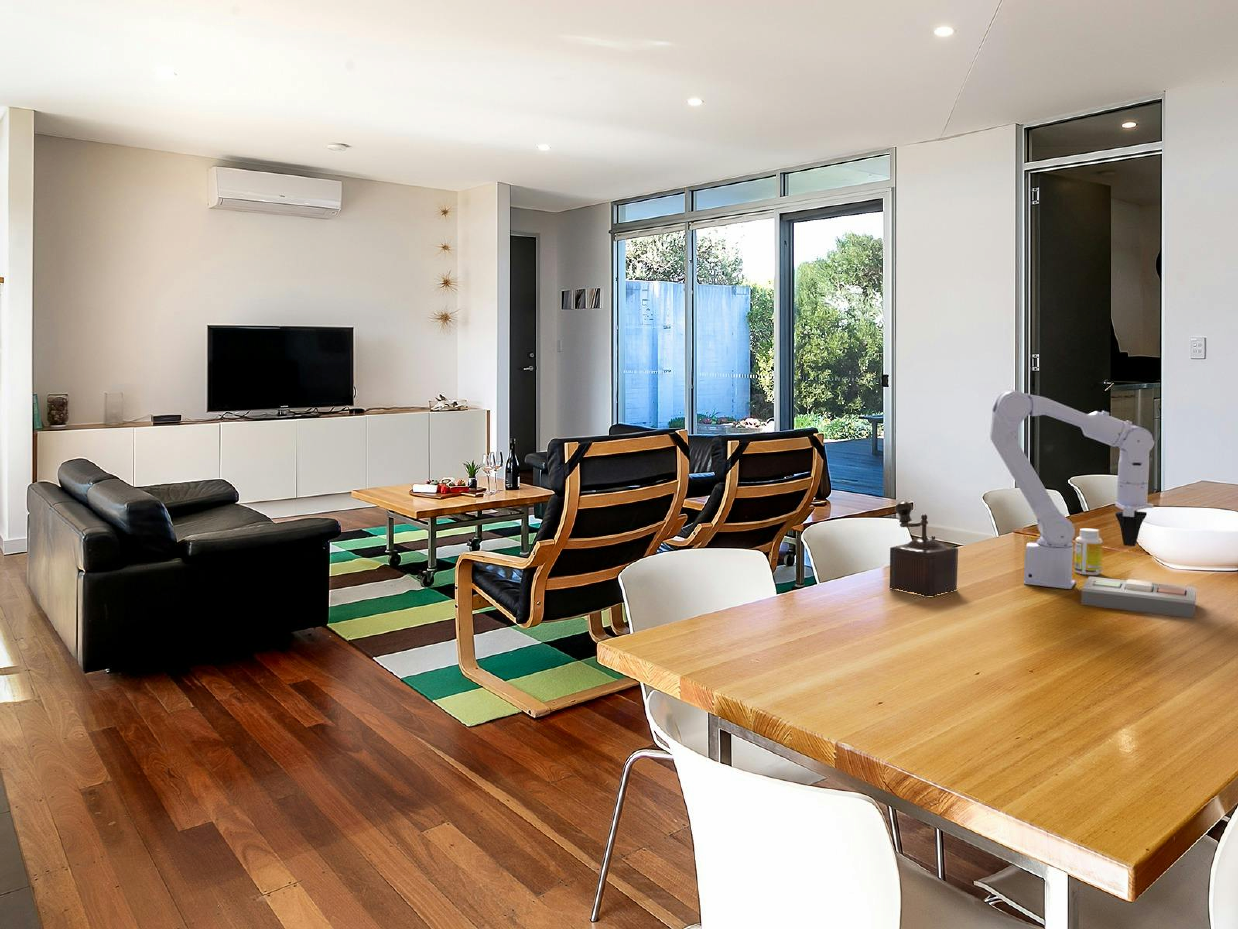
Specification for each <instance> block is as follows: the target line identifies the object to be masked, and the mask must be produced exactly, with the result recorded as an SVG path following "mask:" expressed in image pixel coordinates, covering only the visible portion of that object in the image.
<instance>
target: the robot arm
mask: <svg viewBox="0 0 1238 929" xmlns="http://www.w3.org/2000/svg"><path fill="white" fill-rule="evenodd" d="M1027 416H1031V417H1038V416H1048V417H1050V418H1054V419H1056V420H1060V421H1062V422H1065V423H1067V424H1071V425H1073V426H1075V427H1079V428H1080V429H1081V431H1082V434H1083V435H1084V437H1087V438H1089V439H1092V440H1095V441H1098V442H1100V443H1102V444H1106V445H1108V446H1111V447H1114V448H1115V447H1118V448H1119V457H1118V458H1119V460H1118V466H1117V468H1118V469H1117V470H1118V471H1117V482H1116V483H1117V486H1116V501H1115V505H1114V506H1115V507H1117V508H1119V509H1120V510H1122V511H1116V512H1115V517H1116V519H1117V522H1118V523H1119V524H1118V525H1119V527H1120V532H1121V539H1122V544H1123V546H1125V547H1135V546H1136V544H1137V541H1138V538H1139V535H1140V529H1141V526H1142V523H1143V522H1144V520H1145V518H1146V517H1147V514H1148V513H1147V512H1146V511H1140V510H1145V509H1153V508H1154V503H1148V496H1149V495H1148V494H1149V493H1148V491H1149V476H1150V474H1149V473H1150V451H1152V449H1153V447H1154V446H1155V440H1154V438H1153V435H1152V433H1150V431H1149V430H1148V429H1147V428H1144V427H1141V426H1137V425H1136V424H1133V421H1130V420H1127V419H1126V420H1125V421H1124V420H1121V419H1119V418H1117V417H1114V416H1111V415H1110V412H1108V411H1105V410H1102V411H1101V412H1100V411H1098V410H1095V411H1093V412H1090V413H1085V412H1082V411H1079V410H1078V409H1074V408H1072V407H1070V406H1067V405H1064V404H1062V403H1060V402H1058V401H1054V400H1052V399H1050V398H1048V397H1045V396H1041V395H1040V396H1039V395H1034V394H1031V393H1030V394H1028V393H1024V392H1022V391H1018V390H1015V389H1014V390H1013V389H1012V390H1010V389H1009V390H1006V391H1003V392H1002V393H1000V394H999V396H998V397H997V398H996V400H995V403H994V405H993V406H992V416H991V424H990V426H991V427H990V436H989V437H990V440H991V442H992V444H993V445H994V447H995V449H996V450H997V452H998V454H999V456H1000V458H1001V460H1002V461H1003V463H1004V464H1005V466H1006V468H1007V470H1008V471H1009V473H1010V475H1011V477H1012V478H1013V480H1014V481H1015V482H1016V485H1017V487H1018V488H1019V490H1020V492H1021V493H1022V495H1023V496H1024V498H1025V500H1026V502H1027V503H1028V505H1029V507H1030V508H1031V511H1032V512H1033V515H1034V516H1035V518H1036V522H1037V530H1038V532H1039V533H1040V534H1041V535H1040V536H1039V538H1038V539H1037V540H1036V542H1027V544H1026V545H1025V546H1026V547H1025V553H1024V570H1023V571H1024V572H1023V575H1024V576H1023V584H1025V585H1030V586H1039V587H1040V586H1041V587H1047V588H1056V589H1057V588H1058V589H1064V590H1065V589H1067V590H1071V589H1072V588H1073V586H1074V585H1075V583H1076V579H1072V578H1073V561H1074V560H1073V558H1074V557H1073V556H1074V555H1073V554H1074V542H1072V541H1073V540H1074V537H1075V536H1076V529H1075V526H1074V524H1073V522H1072V521H1071V520H1070V519H1068V518H1067V517H1066V516H1065V514H1063V513H1061V511H1060V510H1059V508H1058V507H1057V505H1056V504H1055V503H1054V501H1053V499H1052V497H1051V496H1050V495H1049V492H1048V491H1047V489H1046V488H1045V485H1044V484H1043V483H1042V481H1041V479H1040V477H1039V476H1038V474H1037V473H1036V470H1035V469H1034V467H1033V466H1032V464H1031V462H1030V460H1029V459H1028V457H1027V455H1026V454H1025V452H1024V451H1023V449H1022V447H1021V445H1020V444H1019V442H1018V440H1017V439H1016V436H1017V434H1018V430H1019V428H1020V427H1021V424H1022V422H1024V420H1025V419H1026V418H1027Z"/></svg>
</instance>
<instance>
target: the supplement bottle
mask: <svg viewBox="0 0 1238 929" xmlns="http://www.w3.org/2000/svg"><path fill="white" fill-rule="evenodd" d="M1074 544H1075V545H1074V572H1075V573H1077V574H1079V575H1084V576H1097V575H1100V574H1101V573H1102V565H1103V564H1102V561H1103V560H1102V559H1103V539H1102V538H1101V537H1100V530H1099V529H1097V528H1090V527H1089V528H1088V527H1087V528H1085V527H1084V528H1079V536H1077V537H1075V542H1074Z"/></svg>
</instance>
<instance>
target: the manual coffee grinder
mask: <svg viewBox="0 0 1238 929" xmlns="http://www.w3.org/2000/svg"><path fill="white" fill-rule="evenodd" d="M912 511H913V505H912V504H911V503H910V502H908V501H903V502H898V503H896V504H895V506H894V512H895V513H896V514H898V516H899V528H911V527H912V528H914V527H915V528H916V527H921V537H918V538H915V539H913V540H911V541H909V542H908V543H905V544H900V545H895V546H891V547H889V548H890V550H889V589H890V588H892V589H899V590H903V591H907V592H914V593H917V594H921V595H924V596H935V595H937V594H941V593H945V592H951V591H954V590H956V589H957V590H958V587H957V586H958V569H959V568H958V567H959V566H958V564H959V563H958V560H959V559H958V558H959V557H958V556H959V548H957V547H952V546H947V545H946V544H944V543H941V542H938V541H937V540H936V537H935V535H932V536H931V537H928V536H927V525H928V524H929V521H928V520H927V519H928V515H927V514H921V516H920V517H921V518H920V519H921V520H920V522H912V521H913V520H912V518H911V514H912ZM909 522H911V523H909ZM892 589H891V590H892ZM935 597H936V596H935Z"/></svg>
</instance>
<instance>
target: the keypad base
mask: <svg viewBox="0 0 1238 929" xmlns="http://www.w3.org/2000/svg"><path fill="white" fill-rule="evenodd" d="M1096 580H1105V581H1114V582H1121V588H1111V587H1102V586H1094V583H1095V582H1096ZM1127 580H1128V579H1126V580H1125V579H1116V578H1107V577H1098V576H1097V577H1096V576H1088V578H1087V579H1086V581H1085V582H1084V584H1083V585H1082V586H1081V599H1080V601H1081V602H1080V603H1081V605H1082V606H1091V607H1099V608H1105V609H1107V608H1108V609H1114V610H1115V609H1116V610H1125V611H1132V612H1139V613H1140V612H1141V613H1149V614H1157V615H1162V616H1163V615H1164V616H1165V615H1166V616H1172V617H1179V618H1188V619H1194V618H1195V611H1196V602H1197V587H1193V586H1183V585H1182V586H1181V585H1173V584H1172V585H1171V584H1164V583H1163V584H1161V583H1154V582H1153V586H1152V592H1147V591H1138V590H1129V589H1126V582H1127ZM1159 586H1161V587H1170V588H1179V589H1185V596H1183V595H1174V594H1165V593H1158V590H1159Z"/></svg>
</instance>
